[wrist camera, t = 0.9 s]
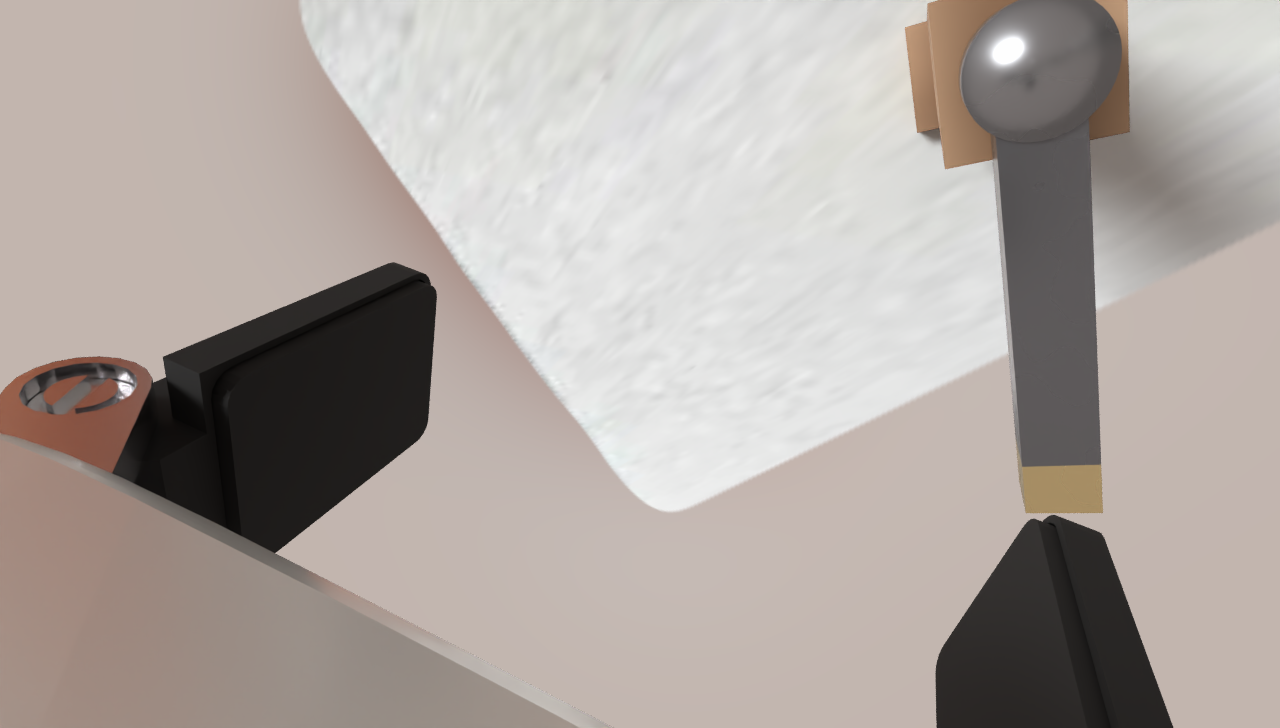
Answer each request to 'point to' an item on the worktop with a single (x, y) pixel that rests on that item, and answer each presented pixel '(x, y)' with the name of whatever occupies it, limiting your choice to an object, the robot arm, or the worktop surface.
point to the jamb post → (937, 81)
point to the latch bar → (1047, 229)
